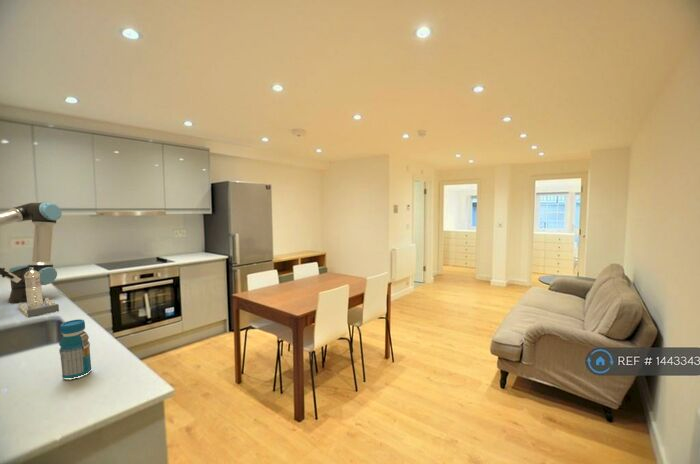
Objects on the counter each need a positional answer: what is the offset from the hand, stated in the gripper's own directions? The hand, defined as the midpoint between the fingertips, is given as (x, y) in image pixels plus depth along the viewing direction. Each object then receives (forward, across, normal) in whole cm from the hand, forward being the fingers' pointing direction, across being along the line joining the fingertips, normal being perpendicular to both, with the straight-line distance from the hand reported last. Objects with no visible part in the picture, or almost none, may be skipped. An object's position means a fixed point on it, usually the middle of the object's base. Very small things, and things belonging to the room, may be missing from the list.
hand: (17, 279), depth 186 cm
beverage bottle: (+12, +120, -15) cm, 121 cm away
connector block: (+18, +19, -9) cm, 28 cm away
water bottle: (+18, -1, -9) cm, 20 cm away
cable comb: (+18, +7, -9) cm, 21 cm away
